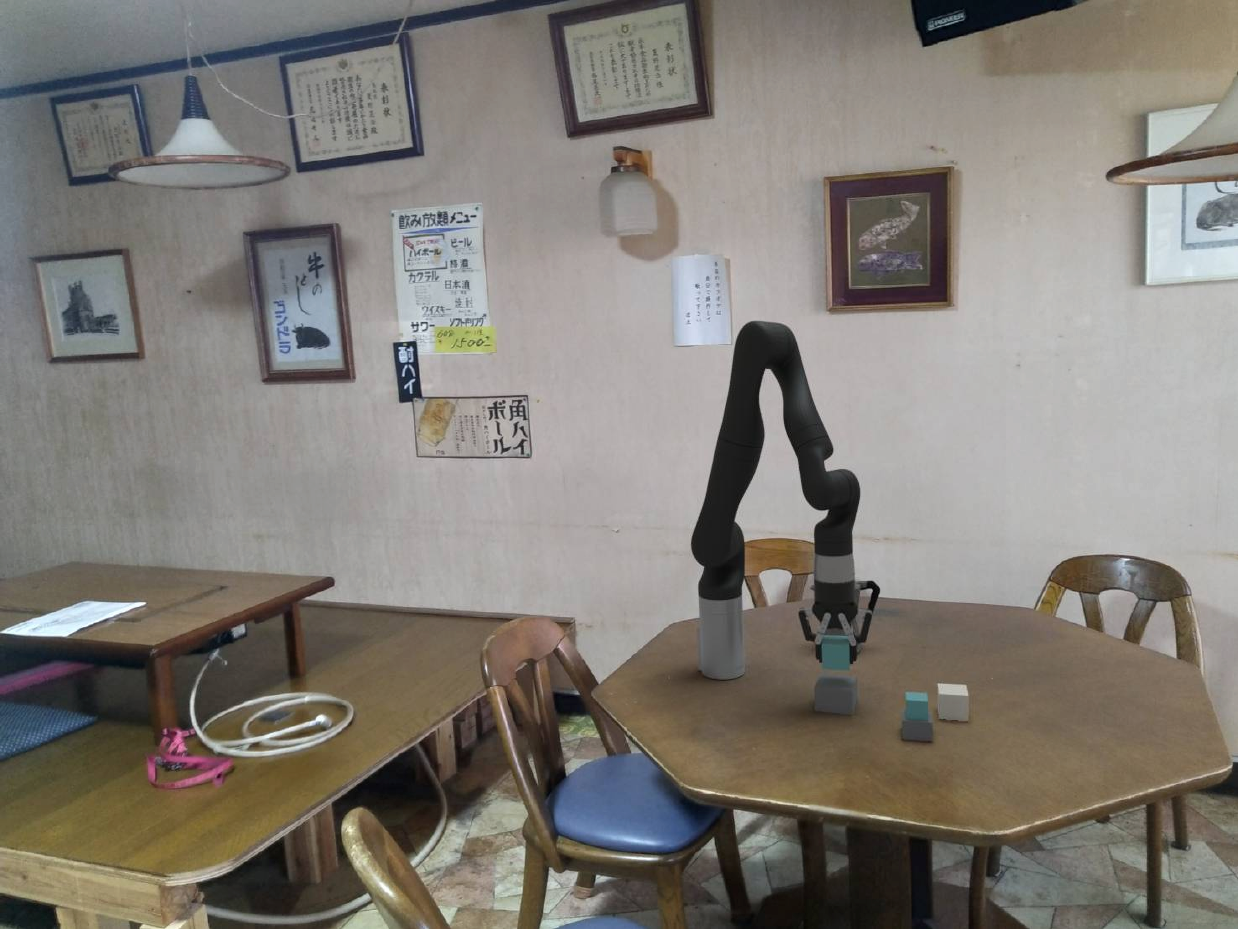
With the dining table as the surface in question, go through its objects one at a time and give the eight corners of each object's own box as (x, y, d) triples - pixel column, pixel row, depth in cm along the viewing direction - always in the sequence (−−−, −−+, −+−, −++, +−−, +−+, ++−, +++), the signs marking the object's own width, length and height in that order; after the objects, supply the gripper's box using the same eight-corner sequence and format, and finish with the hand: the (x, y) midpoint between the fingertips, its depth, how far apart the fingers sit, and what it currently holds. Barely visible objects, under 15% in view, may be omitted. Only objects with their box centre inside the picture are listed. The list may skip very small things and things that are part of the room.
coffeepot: (815, 657, 195) (813, 578, 192) (808, 642, 204) (806, 567, 202) (886, 655, 194) (885, 575, 191) (875, 640, 203) (874, 564, 201)
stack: (902, 739, 154) (902, 701, 153) (901, 727, 159) (901, 690, 158) (932, 741, 153) (932, 703, 152) (931, 729, 158) (931, 691, 157)
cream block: (939, 720, 161) (939, 694, 161) (937, 708, 166) (937, 683, 165) (968, 722, 160) (968, 695, 159) (966, 710, 165) (966, 685, 164)
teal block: (822, 669, 167) (821, 644, 166) (823, 659, 172) (823, 635, 171) (849, 670, 165) (849, 645, 165) (850, 661, 170) (849, 636, 169)
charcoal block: (814, 712, 168) (814, 686, 167) (820, 697, 174) (820, 673, 173) (852, 716, 165) (852, 690, 164) (857, 701, 171) (856, 676, 171)
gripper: (873, 571, 168) (875, 657, 170) (797, 569, 172) (799, 653, 174) (873, 582, 160) (875, 671, 163) (793, 580, 164) (796, 667, 167)
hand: (836, 661), depth 168 cm, fingers closed on teal block, 5 cm apart
